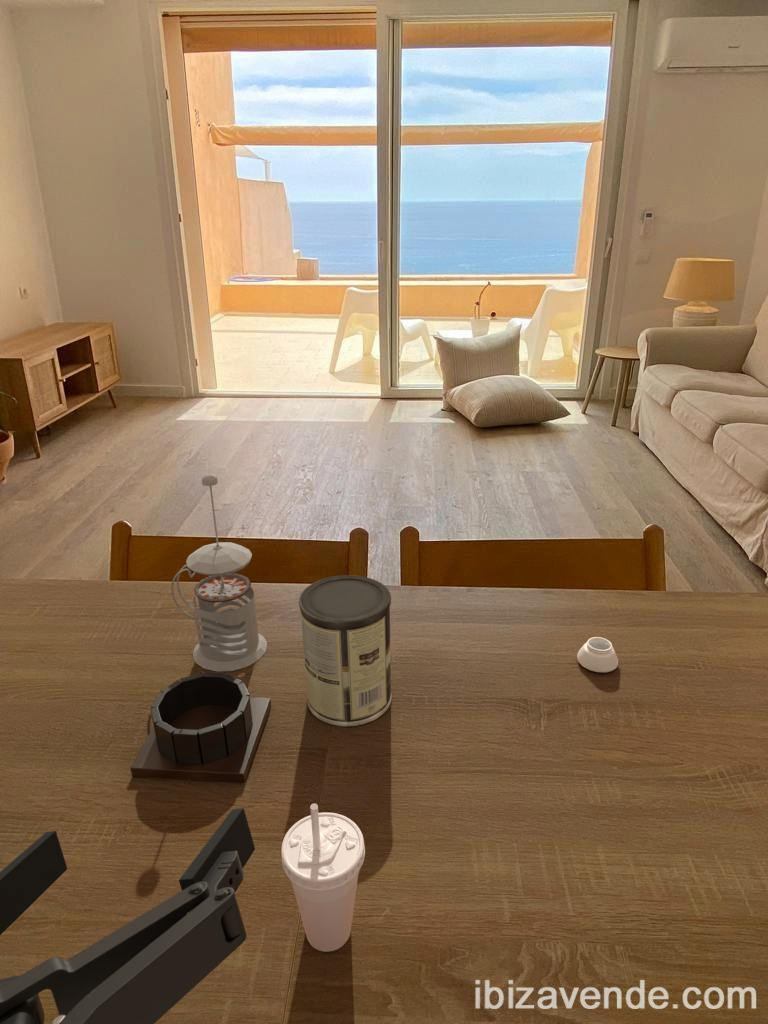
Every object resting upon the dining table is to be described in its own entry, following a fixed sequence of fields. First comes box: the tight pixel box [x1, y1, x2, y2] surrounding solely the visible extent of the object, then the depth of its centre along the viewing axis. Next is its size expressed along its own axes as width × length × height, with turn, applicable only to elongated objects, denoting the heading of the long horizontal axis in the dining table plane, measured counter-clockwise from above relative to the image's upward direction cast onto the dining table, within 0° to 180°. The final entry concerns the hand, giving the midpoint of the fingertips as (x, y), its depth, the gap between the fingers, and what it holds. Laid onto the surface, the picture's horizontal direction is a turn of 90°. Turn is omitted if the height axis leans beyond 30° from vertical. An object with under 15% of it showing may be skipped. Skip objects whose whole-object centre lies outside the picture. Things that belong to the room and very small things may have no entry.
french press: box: [170, 473, 268, 673], centre depth 88 cm, size 10×12×25 cm
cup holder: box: [130, 671, 272, 783], centre depth 76 cm, size 12×12×5 cm
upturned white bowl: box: [576, 636, 619, 673], centre depth 89 cm, size 5×3×5 cm
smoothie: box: [281, 803, 366, 953], centre depth 54 cm, size 6×6×14 cm
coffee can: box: [298, 574, 393, 727], centre depth 80 cm, size 10×10×14 cm
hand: (147, 839), depth 44 cm, fingers open, 13 cm apart
